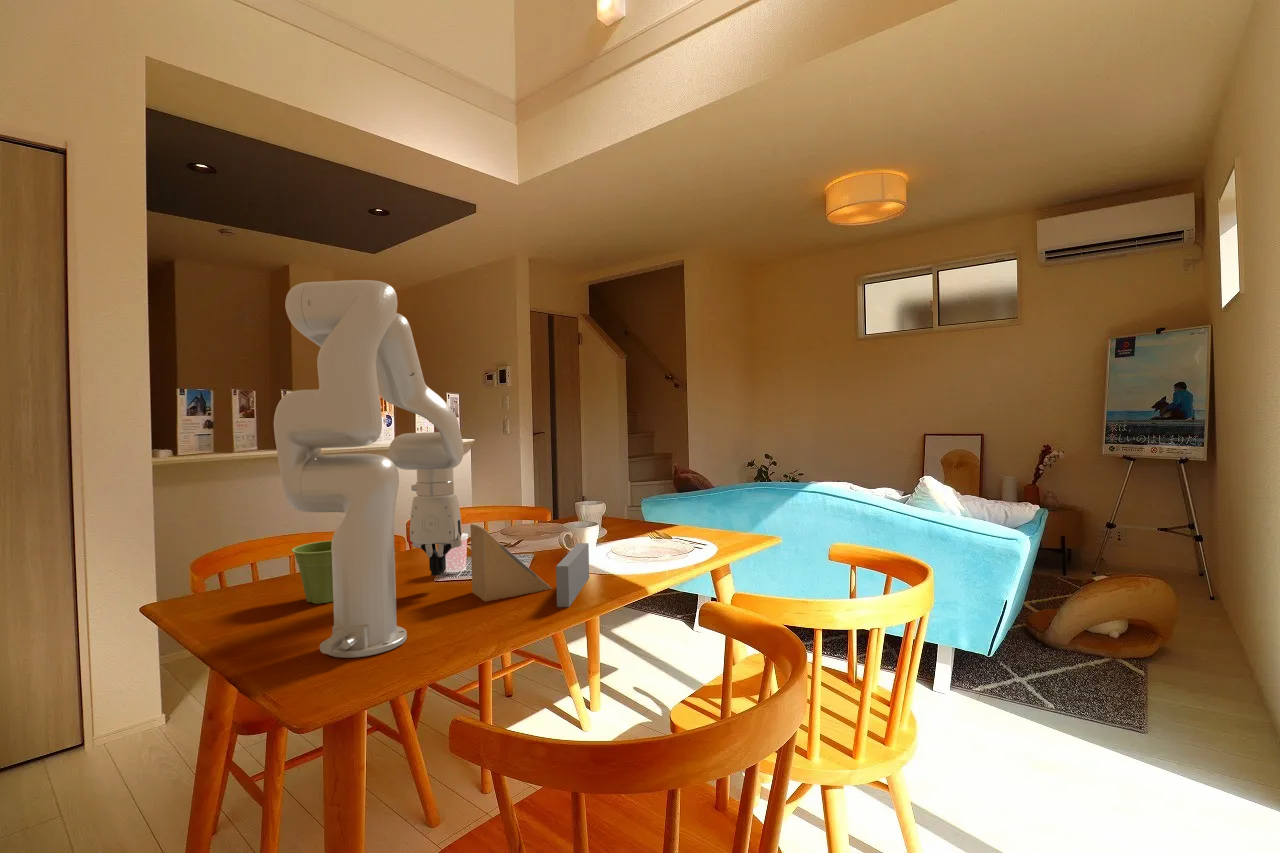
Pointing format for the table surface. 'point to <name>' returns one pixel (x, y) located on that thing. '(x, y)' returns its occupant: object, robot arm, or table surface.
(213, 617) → the table surface
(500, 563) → the beige triangular wedge
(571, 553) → the board
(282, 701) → the table surface
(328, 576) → the plant pot
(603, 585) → the table surface
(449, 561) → the beverage cup
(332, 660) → the table surface
